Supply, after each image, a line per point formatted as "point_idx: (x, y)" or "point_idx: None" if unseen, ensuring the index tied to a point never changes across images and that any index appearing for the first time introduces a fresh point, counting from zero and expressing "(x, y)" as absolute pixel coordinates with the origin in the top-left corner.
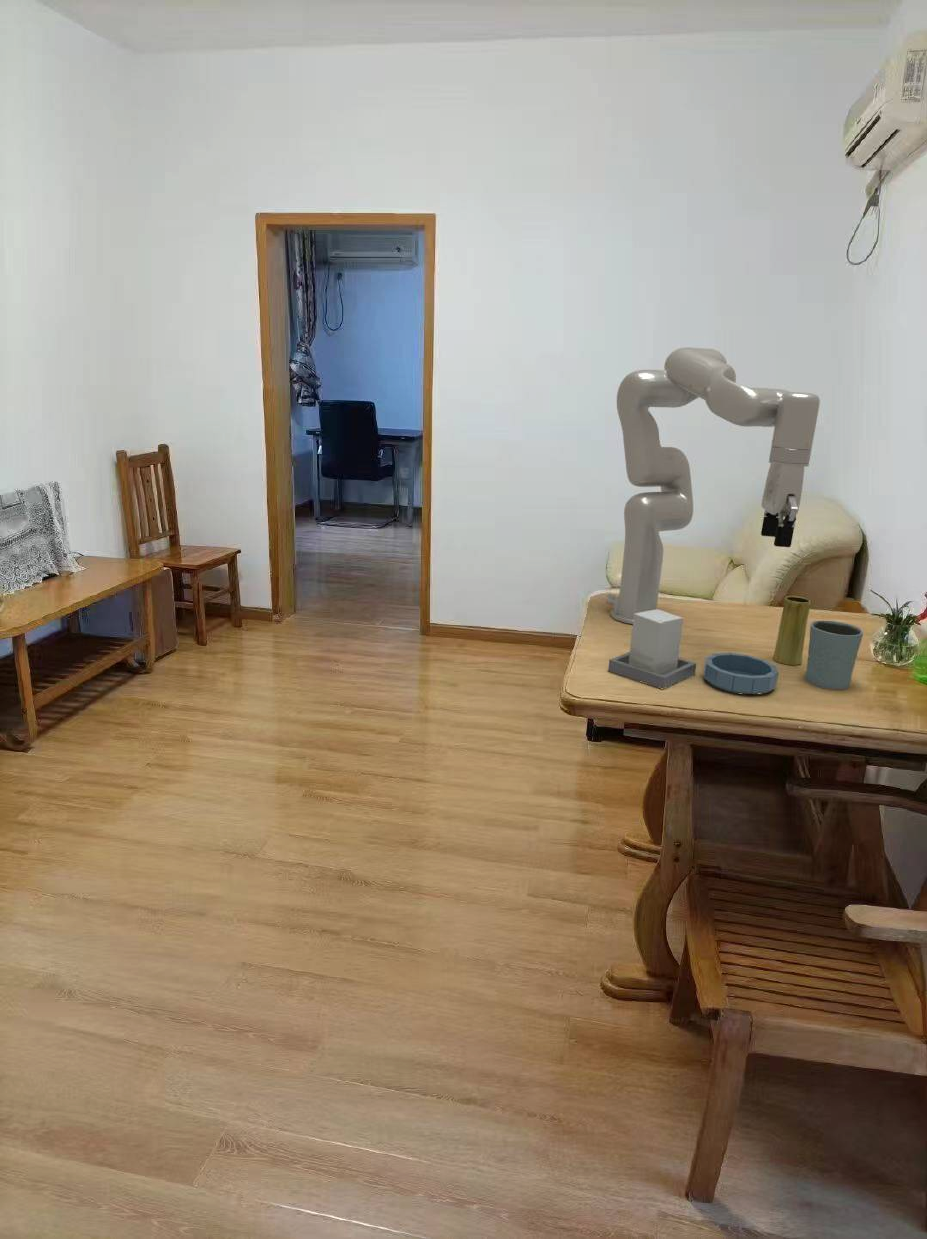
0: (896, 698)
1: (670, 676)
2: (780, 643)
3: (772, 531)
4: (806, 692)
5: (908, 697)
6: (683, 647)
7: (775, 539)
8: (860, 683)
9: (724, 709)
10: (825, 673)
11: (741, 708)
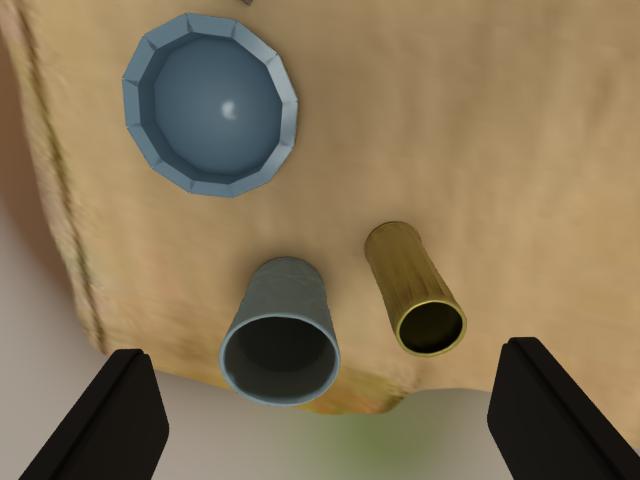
0: None
1: None
2: (391, 244)
3: (510, 428)
4: (218, 240)
5: None
6: (454, 8)
7: (91, 384)
8: None
9: (45, 42)
10: (247, 289)
11: (70, 85)
